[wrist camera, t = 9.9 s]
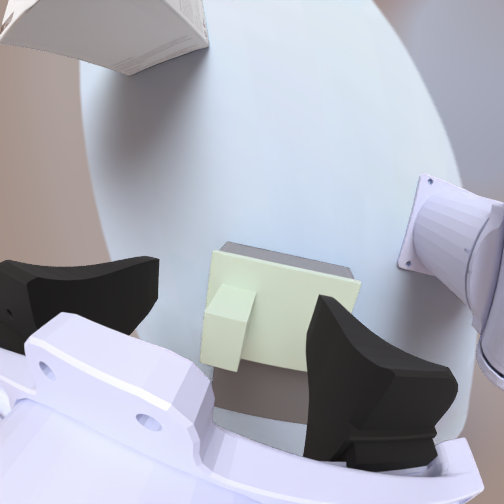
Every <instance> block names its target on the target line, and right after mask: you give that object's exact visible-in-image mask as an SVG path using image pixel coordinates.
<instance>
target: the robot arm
mask: <svg viewBox="0 0 504 504" xmlns="http://www.w3.org/2000/svg"><path fill="white" fill-rule="evenodd" d="M428 179H431V184H430V185H429V184H428ZM408 261H410V264H409V265H408V266H406V263H407V262H408ZM397 264H398V266H399V267H400V268H402V269H406V270H411V271H415V272H419V273H423V274H427V275H431V276H436V277H437V278H438V279H439V280H441V281H442V282H443V283H444V284H445V285H446V286H447V287H448V288H449V289H450V290H451V291H452V292H453V293H454V294H455V295H456V296H457V297H458V298H459V299H460V300H461V301H462V302H463V303H464V304H465V305H466V306H467V307H468V308H469V309H470V310H471V311H472V312H473V320H472V326H473V327H474V328H475V329H476V331H477V332H478V333H479V334H480V335H481V336H480V339H479V341H478V344H477V347H476V359H477V362H478V365H479V367H480V369H481V370H482V372H483V373H484V375H485V376H486V377H487V378H488V379H489V381H490V382H491V383H492V384H494V385H495V386H496V387H497V388H499V389H501V390H502V391H504V203H503V202H500V201H496V200H492V199H489V198H485V197H480V196H478V195H475V194H473V193H471V192H469V191H467V190H465V189H462V188H460V187H458V186H455V185H453V184H451V183H448V182H446V181H443V180H441V179H438V178H436V177H433V176H431V175H428V174H424V173H423V174H421V175H420V176H419V180H418V185H417V189H416V194H415V198H414V203H413V207H412V211H411V215H410V219H409V223H408V226H407V230H406V234H405V237H404V241H403V244H402V247H401V251H400V254H399V257H398V260H397ZM158 277H159V259H157V258H153V257H149V256H141V257H134V258H128V259H123V260H118V261H113V262H108V263H102V264H96V265H88V266H77V267H51V266H50V267H49V266H39V265H32V264H26V263H21V262H17V261H12V260H5V261H3V262H1V263H0V504H465V503H466V502H468V501H469V500H471V499H472V498H473V497H475V496H476V495H478V494H479V493H480V492H482V491H483V489H484V486H483V482H482V480H481V477H480V474H479V471H478V468H477V466H476V463H475V460H474V458H473V455H472V453H471V450H470V448H469V445H468V443H467V441H466V439H465V438H458V439H453V440H447V441H443V442H440V443H439V444H437V445H434V442H433V439H432V438H434V437H435V436H436V434H437V432H436V429H435V427H434V426H435V425H436V424H437V422H438V421H439V420H440V419H441V418H442V416H443V415H444V414H445V413H446V411H447V410H448V409H449V408H450V406H451V404H452V403H453V401H454V400H455V397H456V395H457V392H458V383H457V381H456V379H455V377H454V376H453V374H452V372H451V371H450V369H449V368H448V367H445V366H441V365H438V364H435V363H431V362H428V361H425V360H422V359H420V358H418V357H415V356H413V355H410V354H408V353H406V352H404V351H402V350H400V349H398V348H396V347H395V346H393V345H391V344H389V343H388V342H386V341H384V340H383V339H381V338H380V337H379V336H377V335H376V334H374V333H373V332H372V331H370V330H369V329H368V328H367V327H365V326H364V325H363V324H362V323H361V322H359V321H358V320H357V319H356V318H355V317H354V316H353V315H352V314H351V313H350V312H349V311H348V310H347V309H346V308H345V307H344V306H343V305H342V304H340V303H339V302H338V301H337V300H336V299H335V298H333V297H330V296H325V295H320V294H319V296H318V299H317V302H316V306H315V309H314V312H313V315H312V318H311V321H310V324H309V327H308V330H307V334H306V363H307V375H308V387H309V407H308V421H307V431H306V440H305V447H304V454H303V457H302V456H299V455H295V454H292V453H289V452H286V451H283V450H279V449H277V448H274V447H271V446H268V445H265V444H262V443H260V442H257V441H254V440H252V439H249V438H246V437H244V436H242V435H239V434H237V433H234V432H232V431H230V430H227V429H225V428H223V427H220V426H218V425H216V424H215V423H214V422H213V409H214V402H215V397H214V393H213V389H212V385H211V381H210V380H209V379H208V378H207V377H206V376H205V375H204V374H203V373H202V372H201V370H200V369H199V368H198V367H197V366H196V365H195V364H194V363H193V362H192V361H190V360H188V359H186V358H184V357H182V356H180V355H178V354H176V353H174V352H172V351H170V350H168V349H166V348H163V347H160V346H157V345H154V344H151V343H148V342H145V341H142V340H139V339H137V338H134V337H131V336H129V335H130V334H131V333H132V332H133V331H134V330H135V328H136V327H137V326H138V325H139V324H140V323H141V322H142V320H143V319H144V318H145V317H146V316H147V315H148V313H149V312H150V310H151V309H152V307H153V306H154V304H155V302H156V301H157V299H158Z"/></svg>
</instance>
